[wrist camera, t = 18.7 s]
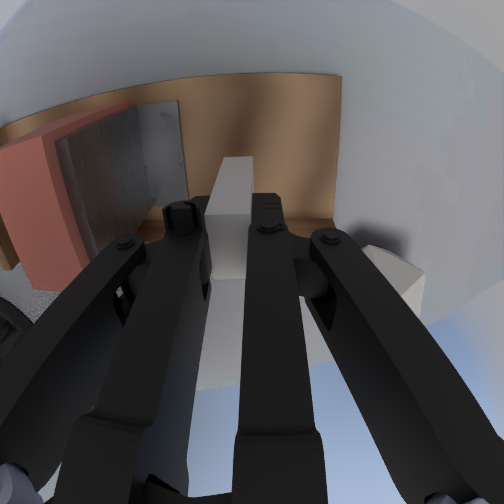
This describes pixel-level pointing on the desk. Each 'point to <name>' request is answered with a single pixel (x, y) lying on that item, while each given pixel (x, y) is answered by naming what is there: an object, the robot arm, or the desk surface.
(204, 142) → the shelf
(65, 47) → the desk surface
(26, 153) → the book
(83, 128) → the bookend
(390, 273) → the die
